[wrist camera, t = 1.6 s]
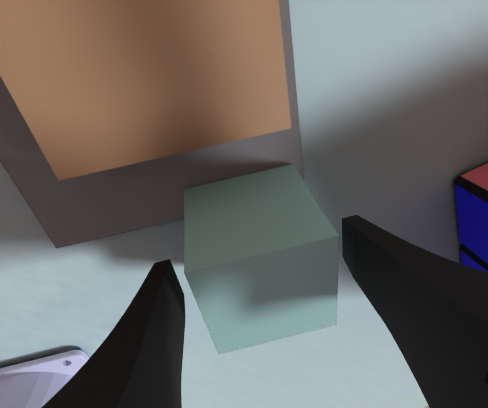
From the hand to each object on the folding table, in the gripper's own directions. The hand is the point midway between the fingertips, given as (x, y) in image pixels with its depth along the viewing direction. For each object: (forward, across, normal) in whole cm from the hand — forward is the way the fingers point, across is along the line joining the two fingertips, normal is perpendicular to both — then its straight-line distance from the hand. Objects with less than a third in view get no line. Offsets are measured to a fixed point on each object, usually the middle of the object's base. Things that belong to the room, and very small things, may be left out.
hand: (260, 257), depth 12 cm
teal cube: (+3, 0, 0) cm, 3 cm away
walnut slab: (+3, +2, -9) cm, 10 cm away
